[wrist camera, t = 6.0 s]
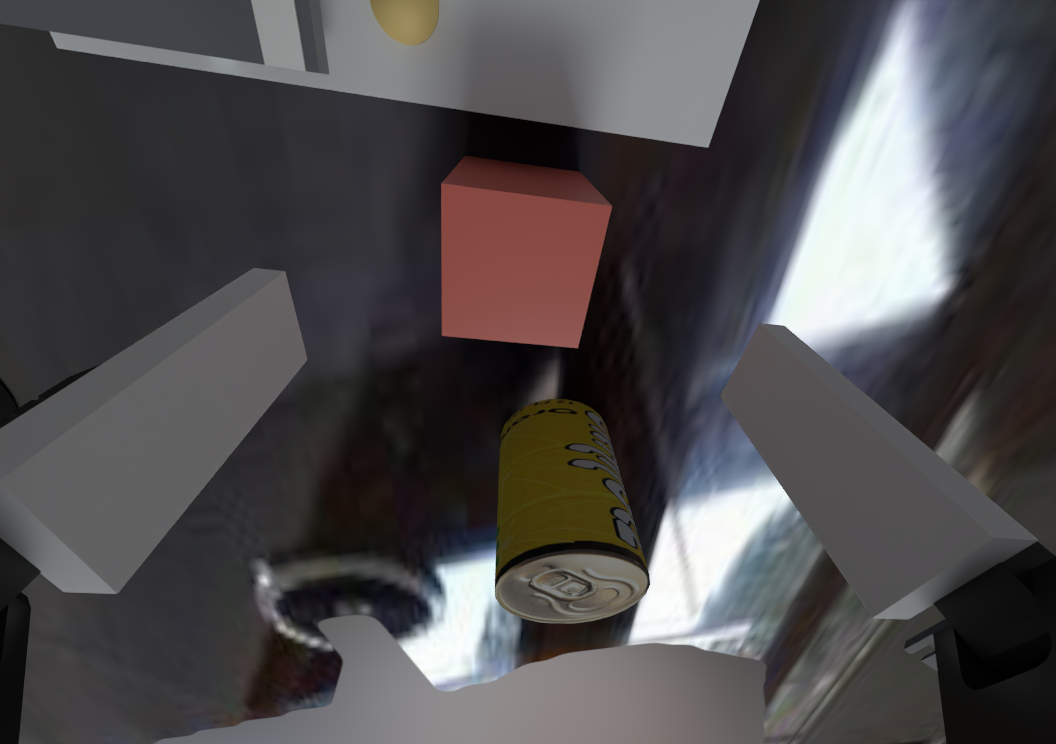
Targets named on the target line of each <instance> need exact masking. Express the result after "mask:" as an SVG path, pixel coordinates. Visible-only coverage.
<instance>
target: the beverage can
mask: <svg viewBox="0 0 1056 744" xmlns="http://www.w3.org/2000/svg"><path fill="white" fill-rule="evenodd" d="M649 585H650V580H649V573H648V570H647V566H646V563H645V559H644V556H643V552H642V549H641V545H640V542H639V538H638V535H637V531H636V528H635V524H634V521H633V517H632V514H631V510H630V507H629V504H628V500H627V497H626V493H625V490H624V486H623V483H622V479H621V476H620V472H619V469H618V465H617V462H616V458H615V455H614V451H613V448H612V445H611V441H610V438H609V434H608V431H607V427H606V424H605V423H604V421H603V419H602V417H601V416H600V415H599V414H598V413H597V412H596V411H594V410H593V409H592V408H590V407H588V406H586V405H584V404H582V403H580V402H576V401H571V400H566V399H549V400H544V401H539V402H535V403H533V404H530V405H528V406H526V407H523V408H521V409H520V410H519V411H517V412H516V413H515V414H513V415H512V416H511V417H510V418H509V420H508V421H507V422H506V423H505V425H504V427H503V430H502V432H501V435H500V462H499V490H498V518H497V546H496V573H495V597H496V599H497V601H498V602H499V604H500V605H501V606H502V607H503V608H504V609H506V610H507V611H508V612H510V613H511V614H514V615H516V616H519V617H521V618H523V619H528V620H532V621H536V622H543V623H554V624H565V623H580V622H587V621H594V620H597V619H601V618H605V617H609V616H612V615H614V614H617V613H619V612H622V611H624V610H626V609H628V608H629V607H631V606H632V605H634V604H636V603H637V602H638V601H639V600H640V599H641V598H642V597H643V596H644V595H645V594H646V592H647V590H648V588H649Z"/></svg>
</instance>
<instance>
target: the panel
mask: <svg viewBox="0 0 1056 744" xmlns="http://www.w3.org/2000/svg"><path fill="white" fill-rule="evenodd" d="M319 2H320V9H321V16H322V24H323V31H324V38H325V45H326V52H327V60H328V67H329V74H330V75H329V74H321V73H314V72H308V71H301V70H295V69H288V68H282V67H276V66H269V65H263V64H256V63H250V62H244V61H237V60H231V59H224V58H218V57H212V56H205V55H199V54H192V53H186V52H179V51H173V50H167V49H160V48H154V47H147V46H141V45H134V44H128V43H122V42H115V41H109V40H102V39H96V38H89V37H83V36H77V35H70V34H64V33H57V32H51V31H50V33H51V36H52V38H53V40H54V42H55V44H56V47H57V48H60V49H66V50H73V51H79V52H86V53H92V54H99V55H105V56H112V57H118V58H125V59H132V60H138V61H145V62H151V63H158V64H164V65H171V66H177V67H184V68H190V69H197V70H204V71H210V72H217V73H223V74H230V75H236V76H243V77H249V78H256V79H262V80H269V81H275V82H282V83H289V84H295V85H302V86H308V87H315V88H321V89H328V90H334V91H341V92H347V93H354V94H361V95H367V96H374V97H380V98H387V99H393V100H400V101H406V102H413V103H419V104H426V105H433V106H439V107H446V108H452V109H459V110H465V111H472V112H478V113H485V114H491V115H498V116H505V117H511V118H518V119H524V120H531V121H537V122H544V123H550V124H557V125H563V126H570V127H576V128H583V129H590V130H596V131H603V132H609V133H616V134H622V135H629V136H635V137H642V138H648V139H655V140H662V141H668V142H675V143H681V144H688V145H694V146H701V147H707V148H708V146H709V143H710V141H711V138H712V135H713V132H714V129H715V126H716V123H717V121H718V118H719V115H720V112H721V109H722V106H723V103H724V101H725V98H726V95H727V92H728V89H729V86H730V83H731V80H732V78H733V75H734V72H735V69H736V66H737V63H738V60H739V58H740V55H741V52H742V49H743V46H744V43H745V40H746V38H747V35H748V32H749V29H750V26H751V23H752V20H753V18H754V15H755V12H756V9H757V6H758V3H759V0H319Z"/></svg>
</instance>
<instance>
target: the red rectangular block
mask: <svg viewBox="0 0 1056 744" xmlns="http://www.w3.org/2000/svg"><path fill="white" fill-rule="evenodd" d="M611 209H612V205H611V204H610V203H609V202H608V201H607V200H606V199H605V198H604V197H603V196H602V195H601V194H600V193H599V192H598V191H597V190H596V189H595V187H594V186H593V185H592V184H591V183H590V182H589V181H588V180H587V179H586V178H585V177H584V176H583V175H582V174H581V173H580V172H578V171H571V170H564V169H557V168H550V167H542V166H535V165H528V164H521V163H514V162H507V161H500V160H493V159H486V158H478V157H471V156H464V158H463V159H462V160H461V161H460V162H459V163H458V165H457V166H456V167H455V168H454V169H453V170H452V172H451V173H450V174H449V175H448V176H447V177H446V179H445V180H444V181H443V182H442V183H441V231H442V336H450V337H461V338H472V339H483V340H494V341H505V342H515V343H526V344H537V345H548V346H559V347H570V348H578V346H579V342H580V338H581V333H582V329H583V325H584V321H585V317H586V313H587V308H588V304H589V300H590V296H591V292H592V288H593V284H594V279H595V275H596V271H597V267H598V263H599V259H600V255H601V250H602V246H603V242H604V238H605V234H606V230H607V225H608V221H609V217H610V213H611Z"/></svg>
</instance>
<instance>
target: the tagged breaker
mask: <svg viewBox="0 0 1056 744" xmlns="http://www.w3.org/2000/svg"><path fill="white" fill-rule="evenodd" d="M0 24H6V25H12V26H19V27H25V28H32V29H38V30H44V31H51V32H57V33H64V34H70V35H77V36H83V37H89V38H96V39H102V40H109V41H115V42H122V43H128V44H134V45H141V46H147V47H154V48H160V49H167V50H173V51H179V52H186V53H192V54H199V55H205V56H212V57H218V58H224V59H231V60H237V61H244V62H250V63H256V64H263V65H269V66H276V67H282V68H288V69H295V70H301V71H308V72H314V73H321V74H329V67H328V60H327V52H326V45H325V38H324V31H323V24H322V16H321V9H320V2H319V0H0ZM329 75H330V74H329Z"/></svg>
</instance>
